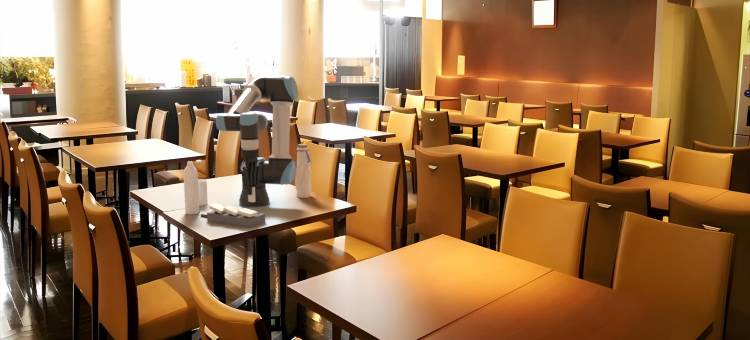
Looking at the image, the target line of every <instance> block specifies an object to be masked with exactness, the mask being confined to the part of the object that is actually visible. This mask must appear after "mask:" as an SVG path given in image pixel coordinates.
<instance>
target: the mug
mask: <svg viewBox="0 0 750 340" xmlns="http://www.w3.org/2000/svg"><path fill="white" fill-rule="evenodd" d="M198 192H199V195H198V196H199V207H203V206H207V205H208V204H209V202H208V182H207V179H203V178H201V179H199V178H198Z"/></svg>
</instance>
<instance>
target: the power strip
mask: <svg viewBox="0 0 750 340" xmlns="http://www.w3.org/2000/svg"><path fill="white" fill-rule="evenodd" d="M200 217H203V218H206V219H207V220H206V221H207V222H208V223H214V224H221V225H227V226H234V227H240V228H245V227H246V229H252V228H255V227H257V226H260V225H262V224H264V223H266V213H263V212H257V215H255V216H252V217H248V216H244V215H241V214H240V215H237V216H234V215H232V214H230V213H228V212H225V213H222V214H220V213H218V212H216V211H214V210H212V211H208V212H207V213H206V214H204V213H201V214H200Z"/></svg>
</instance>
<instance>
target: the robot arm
mask: <svg viewBox="0 0 750 340" xmlns="http://www.w3.org/2000/svg"><path fill="white" fill-rule="evenodd" d="M298 92H299V91H298V85H297V81H296V79H295V77H293V76H291V75H260V76H257V77H256V78H253V79H251V80H250V81H249V82H248V83H247V84H245V86H244V87H243V88H242V93H241V95H239V97H238V98H237V99H236V100H235V102H234V103H233V105H231V107H230V108H229V110H227V112H226V113H220V114H218V115H216V118H215V126H216V129H217V130H218V131H221V132H222V131H223V132H240V148H241V149H240V152H241V153H240V154H241V158H242V159H243V161H242V162H241V166H239V171H240V173H241V184H242V185H241V188H242V189H241V193H240V196H239V200H238V202H239V205H240V206H242V207H246V208H247V207H250V208H251V207H256V208H257V207H263V206H267V205H270V197H269V194H268V191H267V187H266V185H280V186H283V185H290V184H291V183H292V182H293V181H294V180H295V174H296V169H297V165H296V162H295V161H294V160H293V157H292V156H291V154H290V137H291V136H290V135H291V134H290V133H291V132H290V131H291V128H290V127H291V106H292V105H294V101H295V100H297V99H298V96H299V93H298ZM261 100H269V103H270V105H272V131H271V133H272V134H271V135H272V137H271V154H270V155H269V156H268V160H266V158H265V157H260V150H259V146H260V144H259V143H260V142H259V141H260V140H259V132H263V131H264V130H266V129H267V127H268V124H269V120H268V118H267V117H266V115H264V114H262V113H256V112H253V111H252V112H250V110H251V109H252V107H254V105H255V103H258V102H259V101H261Z"/></svg>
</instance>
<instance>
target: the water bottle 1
mask: <svg viewBox="0 0 750 340" xmlns="http://www.w3.org/2000/svg"><path fill="white" fill-rule="evenodd" d="M195 163H197V164H202V159H197V160H195ZM198 173H199V172H198V169H197V168H196V166H195V164H194V163H193V161H190V160H188V161H187V164H186V166H185V168H184V169H183V173H182V175H183V191H184V208H185V209H184V211H185V214H186V215H197V214H199V213H200V206H199V196H198V195H199V192H198V179H199V174H198Z"/></svg>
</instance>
